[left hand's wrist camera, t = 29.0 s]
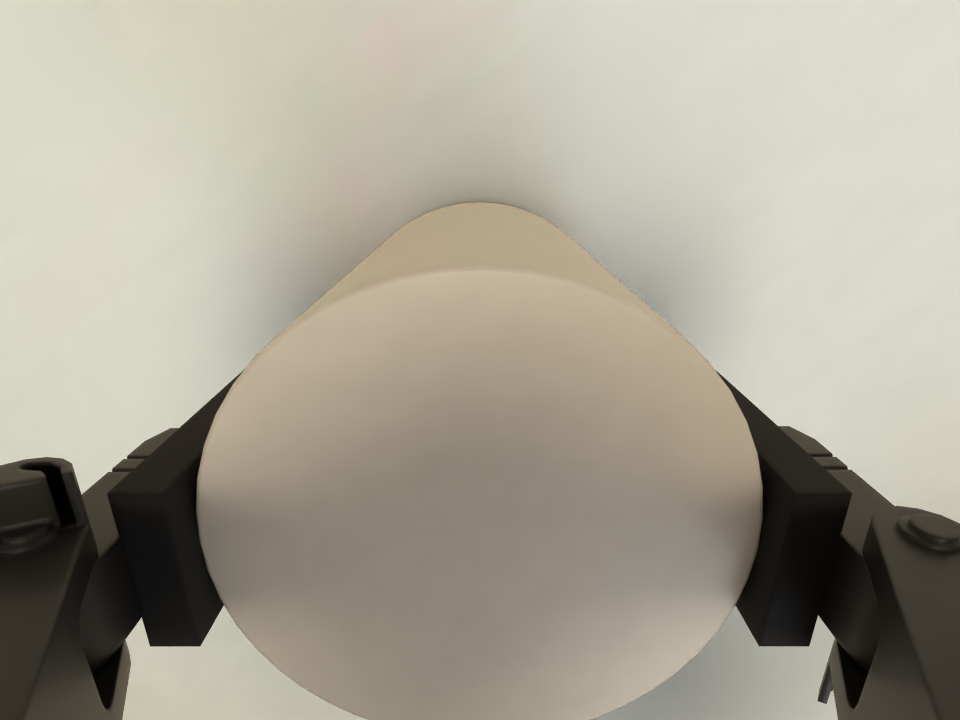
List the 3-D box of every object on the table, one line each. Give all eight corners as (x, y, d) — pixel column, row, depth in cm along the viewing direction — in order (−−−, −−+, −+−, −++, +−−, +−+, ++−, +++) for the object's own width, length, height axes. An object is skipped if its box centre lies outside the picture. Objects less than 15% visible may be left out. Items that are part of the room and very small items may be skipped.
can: (395, 468, 20) (312, 775, 10) (314, 240, 17) (85, 354, 7) (625, 417, 19) (781, 693, 9) (582, 170, 16) (741, 188, 6)
